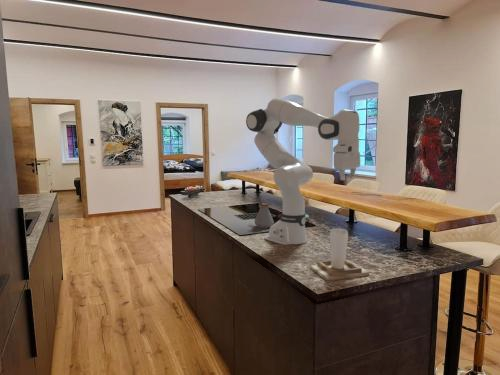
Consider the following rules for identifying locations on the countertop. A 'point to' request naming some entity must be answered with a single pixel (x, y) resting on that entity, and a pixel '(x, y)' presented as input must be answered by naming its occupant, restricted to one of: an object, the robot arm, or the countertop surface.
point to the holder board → (338, 270)
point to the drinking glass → (338, 247)
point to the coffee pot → (264, 216)
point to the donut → (306, 218)
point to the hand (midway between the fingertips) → (347, 179)
